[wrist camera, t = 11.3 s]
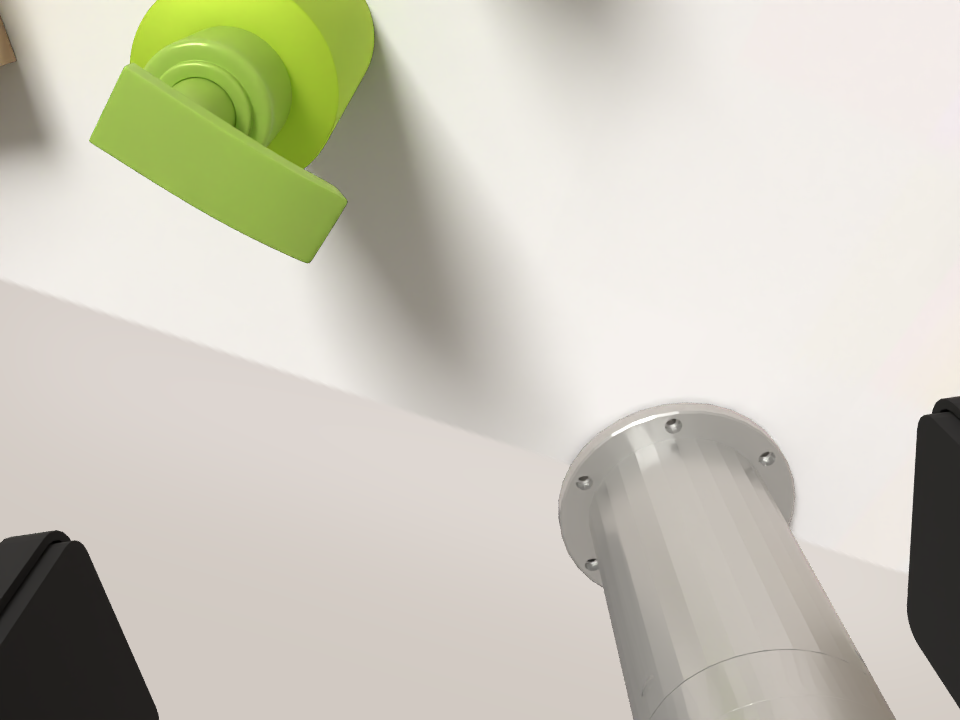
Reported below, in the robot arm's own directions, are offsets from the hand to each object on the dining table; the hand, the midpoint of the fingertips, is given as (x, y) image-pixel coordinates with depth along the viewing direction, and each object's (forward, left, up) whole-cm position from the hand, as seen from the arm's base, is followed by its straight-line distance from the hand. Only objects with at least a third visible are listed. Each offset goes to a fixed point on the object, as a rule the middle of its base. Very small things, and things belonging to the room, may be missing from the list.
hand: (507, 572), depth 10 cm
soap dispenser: (+3, +6, -32) cm, 32 cm away
